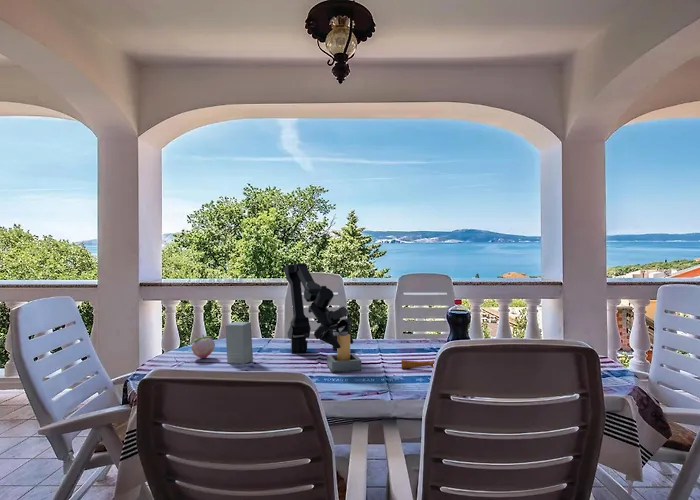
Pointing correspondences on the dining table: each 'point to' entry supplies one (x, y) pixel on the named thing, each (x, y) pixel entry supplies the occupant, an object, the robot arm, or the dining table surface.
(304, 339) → the robot arm
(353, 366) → the gray square dish
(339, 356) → the tan cylinder
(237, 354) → the skincare box
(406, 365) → the kendama
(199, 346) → the decorative fruit
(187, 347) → the dining table surface
